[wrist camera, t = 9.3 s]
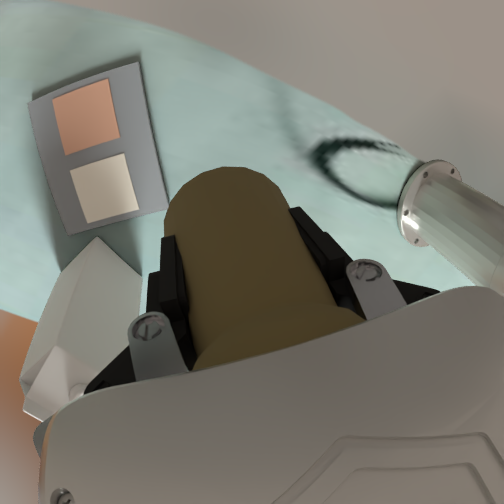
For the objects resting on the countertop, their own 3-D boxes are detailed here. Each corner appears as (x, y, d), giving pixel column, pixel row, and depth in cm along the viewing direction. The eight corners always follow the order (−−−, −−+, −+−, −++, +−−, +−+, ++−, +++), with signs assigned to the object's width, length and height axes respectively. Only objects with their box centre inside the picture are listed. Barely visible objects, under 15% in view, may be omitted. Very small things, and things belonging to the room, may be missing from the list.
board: (139, 62, 21) (137, 61, 20) (169, 204, 28) (169, 209, 27) (31, 102, 19) (26, 103, 18) (70, 231, 27) (67, 236, 26)
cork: (199, 298, 16) (243, 512, 7) (139, 204, 12) (102, 474, 3) (303, 251, 16) (425, 435, 7) (266, 144, 12) (475, 321, 3)
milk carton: (104, 309, 33) (84, 458, 17) (60, 272, 29) (8, 420, 13) (143, 277, 32) (136, 440, 16) (97, 234, 28) (42, 395, 12)
